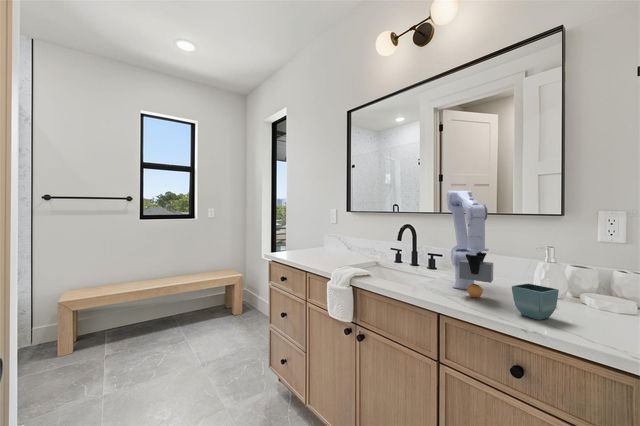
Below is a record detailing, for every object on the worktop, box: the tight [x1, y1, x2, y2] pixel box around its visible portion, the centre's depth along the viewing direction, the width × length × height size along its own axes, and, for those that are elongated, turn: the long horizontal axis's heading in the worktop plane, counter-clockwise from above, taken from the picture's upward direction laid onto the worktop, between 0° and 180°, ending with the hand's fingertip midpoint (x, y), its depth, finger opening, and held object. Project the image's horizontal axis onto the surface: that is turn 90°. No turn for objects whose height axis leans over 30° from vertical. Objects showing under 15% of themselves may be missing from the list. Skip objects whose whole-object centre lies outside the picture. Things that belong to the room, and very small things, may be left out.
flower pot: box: [511, 283, 560, 321], centre depth 86 cm, size 9×9×9 cm
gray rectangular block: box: [459, 260, 494, 284], centre depth 106 cm, size 6×10×6 cm, turn 53°
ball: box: [466, 283, 483, 299], centre depth 107 cm, size 5×5×5 cm
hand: (476, 272), depth 106 cm, fingers closed on gray rectangular block, 6 cm apart
